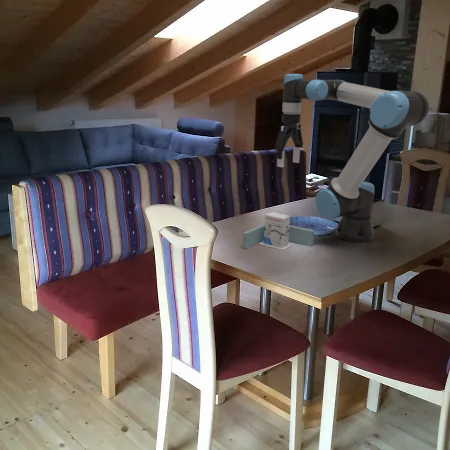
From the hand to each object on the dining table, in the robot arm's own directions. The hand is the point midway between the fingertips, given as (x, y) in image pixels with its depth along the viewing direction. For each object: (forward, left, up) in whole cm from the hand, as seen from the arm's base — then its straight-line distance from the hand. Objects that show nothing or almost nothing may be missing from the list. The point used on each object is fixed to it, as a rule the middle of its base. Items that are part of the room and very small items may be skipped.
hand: (288, 164), depth 213 cm
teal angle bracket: (-12, +26, -27) cm, 39 cm away
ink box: (-10, +25, -27) cm, 38 cm away
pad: (-10, +25, -27) cm, 38 cm away
